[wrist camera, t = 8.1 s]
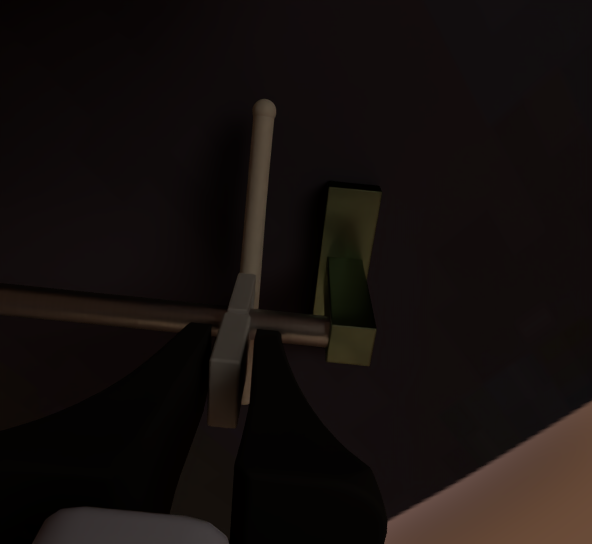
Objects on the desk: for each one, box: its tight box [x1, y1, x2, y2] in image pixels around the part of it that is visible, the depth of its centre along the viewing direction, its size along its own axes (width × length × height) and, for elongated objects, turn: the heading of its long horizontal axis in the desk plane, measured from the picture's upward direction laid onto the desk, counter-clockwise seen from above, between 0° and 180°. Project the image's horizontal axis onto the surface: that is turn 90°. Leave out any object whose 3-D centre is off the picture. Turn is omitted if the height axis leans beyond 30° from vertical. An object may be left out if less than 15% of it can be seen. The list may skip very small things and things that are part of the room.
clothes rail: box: [0, 181, 382, 366], centre depth 19 cm, size 7×21×6 cm, turn 84°
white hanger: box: [207, 99, 276, 428], centre depth 17 cm, size 13×1×8 cm, turn 174°
